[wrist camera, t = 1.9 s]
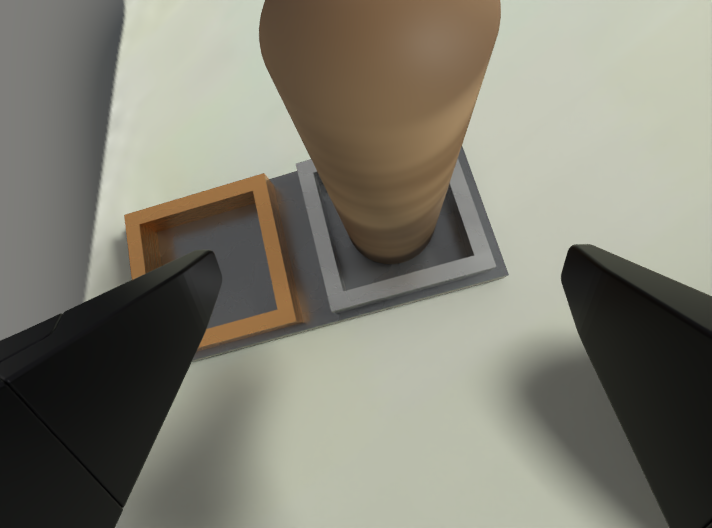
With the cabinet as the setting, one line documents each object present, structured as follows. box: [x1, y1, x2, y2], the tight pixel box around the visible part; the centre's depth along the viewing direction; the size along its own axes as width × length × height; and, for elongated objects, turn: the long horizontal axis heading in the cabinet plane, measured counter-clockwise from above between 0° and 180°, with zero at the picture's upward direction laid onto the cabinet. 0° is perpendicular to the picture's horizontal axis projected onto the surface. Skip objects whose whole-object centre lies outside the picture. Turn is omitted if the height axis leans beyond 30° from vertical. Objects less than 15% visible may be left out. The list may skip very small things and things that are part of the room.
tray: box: [124, 146, 509, 362], centre depth 20 cm, size 20×9×2 cm, turn 105°
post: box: [259, 0, 501, 264], centre depth 14 cm, size 5×5×13 cm
